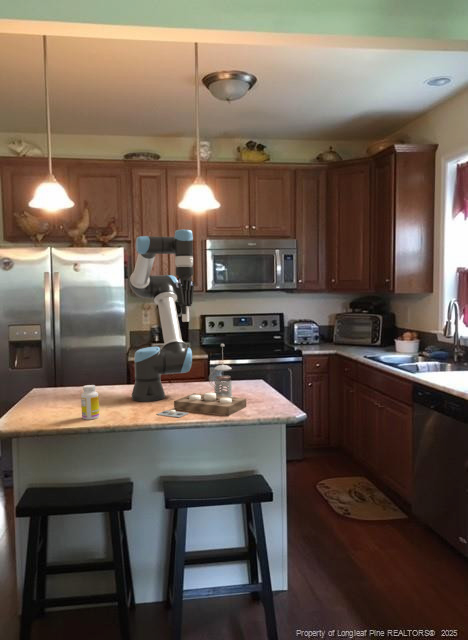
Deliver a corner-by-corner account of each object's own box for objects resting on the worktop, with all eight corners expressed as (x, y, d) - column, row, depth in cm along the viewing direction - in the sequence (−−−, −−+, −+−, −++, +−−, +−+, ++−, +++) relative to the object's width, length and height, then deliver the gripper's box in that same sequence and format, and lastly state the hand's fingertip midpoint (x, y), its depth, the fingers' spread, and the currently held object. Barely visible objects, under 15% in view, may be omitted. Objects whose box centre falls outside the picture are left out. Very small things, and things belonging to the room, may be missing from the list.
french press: (229, 400, 229) (229, 345, 227) (205, 399, 233) (204, 344, 231) (236, 396, 238) (236, 342, 237) (213, 394, 242) (212, 342, 240)
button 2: (202, 401, 215) (202, 394, 215) (208, 399, 220) (208, 392, 219) (212, 403, 213) (212, 395, 213) (218, 400, 217) (218, 393, 217)
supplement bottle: (100, 415, 207) (99, 384, 206) (97, 419, 201) (95, 387, 200) (84, 416, 207) (83, 384, 206) (79, 420, 200) (78, 387, 199)
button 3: (217, 407, 212) (217, 399, 212) (223, 404, 216) (223, 397, 216) (228, 408, 210) (228, 400, 209) (234, 405, 214) (234, 398, 214)
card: (156, 414, 207) (156, 411, 207) (166, 410, 213) (166, 407, 213) (179, 417, 202) (179, 413, 202) (188, 413, 208) (188, 409, 208)
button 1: (187, 404, 219) (187, 396, 219) (193, 401, 223) (193, 394, 223) (197, 405, 217) (197, 397, 216) (203, 402, 221) (203, 395, 221)
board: (174, 409, 215) (173, 400, 215) (194, 401, 230) (194, 393, 229) (228, 415, 204) (228, 406, 203) (246, 406, 218) (246, 398, 217)
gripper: (183, 265, 211) (184, 322, 213) (199, 266, 223) (201, 320, 224) (168, 266, 215) (169, 322, 216) (185, 267, 226) (186, 320, 228)
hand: (185, 321), depth 220 cm, fingers closed
